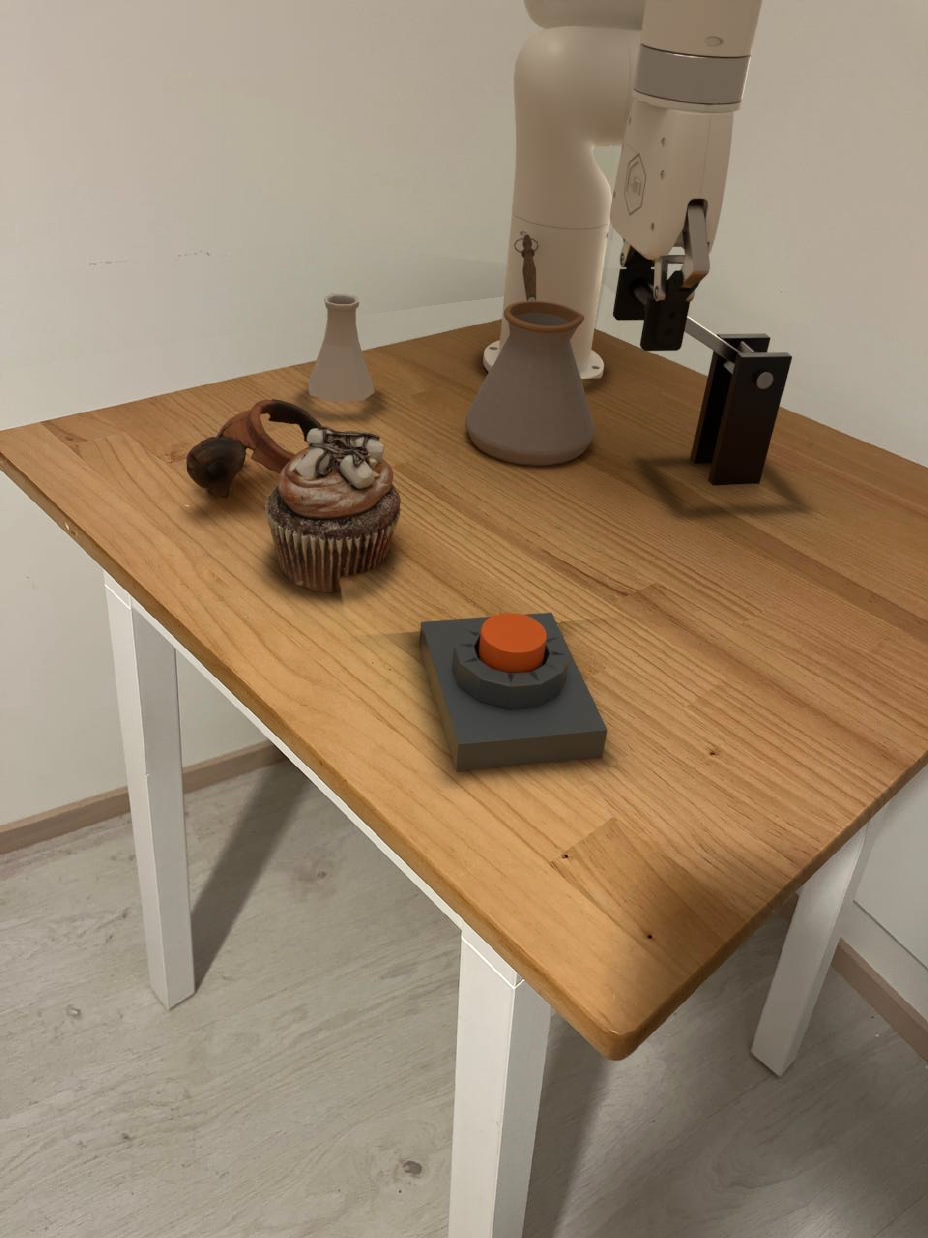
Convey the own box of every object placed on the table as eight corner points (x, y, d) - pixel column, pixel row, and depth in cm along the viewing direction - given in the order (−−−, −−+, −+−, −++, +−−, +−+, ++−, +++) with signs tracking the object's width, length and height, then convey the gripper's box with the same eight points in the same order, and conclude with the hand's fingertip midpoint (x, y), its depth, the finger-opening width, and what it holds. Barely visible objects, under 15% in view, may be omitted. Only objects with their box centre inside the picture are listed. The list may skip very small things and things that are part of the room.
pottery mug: (254, 454, 93) (299, 385, 89) (315, 535, 91) (365, 468, 87) (142, 466, 84) (185, 389, 79) (207, 557, 82) (256, 483, 77)
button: (472, 637, 67) (474, 614, 66) (533, 633, 68) (537, 610, 67) (487, 677, 64) (489, 654, 63) (551, 672, 65) (554, 649, 64)
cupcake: (275, 526, 83) (271, 406, 77) (400, 532, 84) (405, 414, 78) (257, 596, 75) (251, 468, 70) (396, 603, 76) (401, 477, 70)
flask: (313, 382, 106) (312, 281, 100) (385, 391, 105) (388, 290, 99) (294, 413, 100) (291, 307, 94) (370, 422, 99) (372, 317, 93)
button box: (419, 647, 72) (422, 598, 69) (547, 638, 74) (554, 590, 71) (455, 772, 62) (460, 720, 60) (602, 757, 64) (612, 706, 62)
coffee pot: (599, 487, 92) (626, 316, 83) (465, 481, 91) (479, 308, 82) (567, 385, 109) (587, 235, 101) (455, 380, 108) (465, 228, 100)
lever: (646, 321, 80) (666, 293, 79) (622, 295, 85) (640, 269, 84) (765, 399, 87) (785, 375, 86) (737, 372, 91) (756, 348, 90)
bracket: (681, 513, 89) (713, 368, 82) (644, 463, 96) (670, 324, 89) (801, 507, 92) (842, 365, 84) (756, 458, 99) (791, 323, 91)
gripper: (599, 55, 79) (568, 296, 90) (685, 102, 66) (637, 379, 76) (693, 59, 81) (652, 296, 91) (796, 106, 67) (734, 377, 78)
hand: (645, 331), depth 84 cm, fingers closed on lever, 5 cm apart
